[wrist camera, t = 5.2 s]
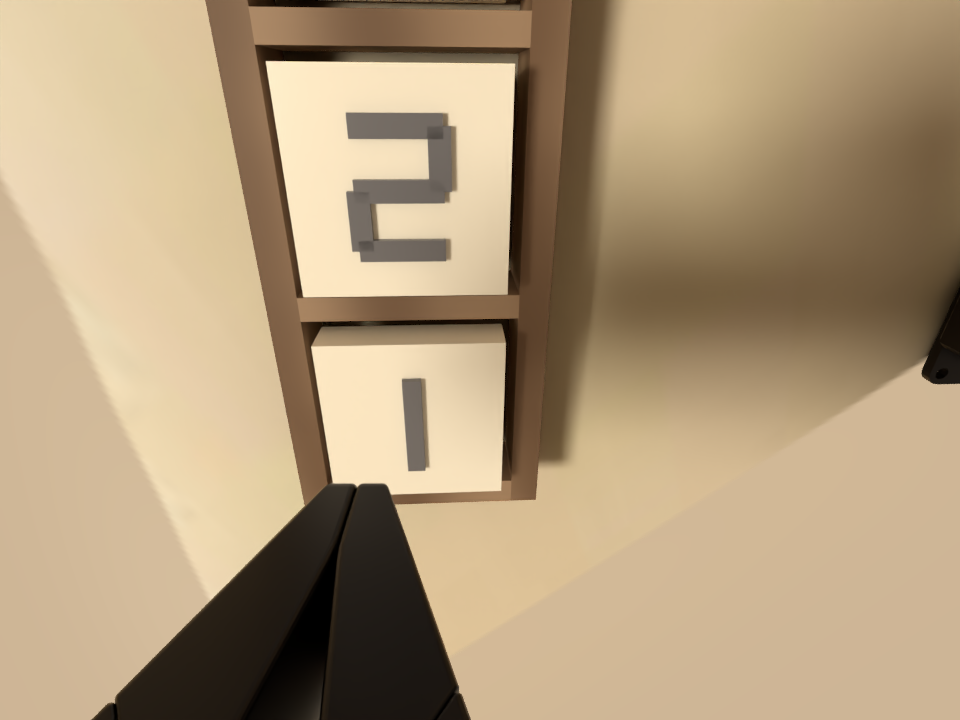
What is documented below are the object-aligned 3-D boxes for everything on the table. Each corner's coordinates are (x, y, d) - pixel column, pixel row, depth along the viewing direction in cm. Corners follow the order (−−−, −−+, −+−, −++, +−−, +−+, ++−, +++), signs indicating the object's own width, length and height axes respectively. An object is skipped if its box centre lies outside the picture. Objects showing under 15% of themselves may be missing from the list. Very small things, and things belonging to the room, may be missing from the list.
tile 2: (508, 65, 14) (515, 63, 13) (502, 278, 17) (508, 296, 15) (283, 63, 14) (262, 60, 12) (314, 280, 17) (301, 299, 15)
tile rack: (578, -387, 12) (608, -496, 10) (527, 459, 23) (535, 499, 21) (169, -410, 11) (101, -530, 9) (319, 465, 22) (305, 507, 20)
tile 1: (501, 323, 18) (506, 345, 16) (497, 464, 20) (501, 494, 19) (321, 326, 17) (309, 349, 16) (342, 469, 20) (333, 500, 19)
